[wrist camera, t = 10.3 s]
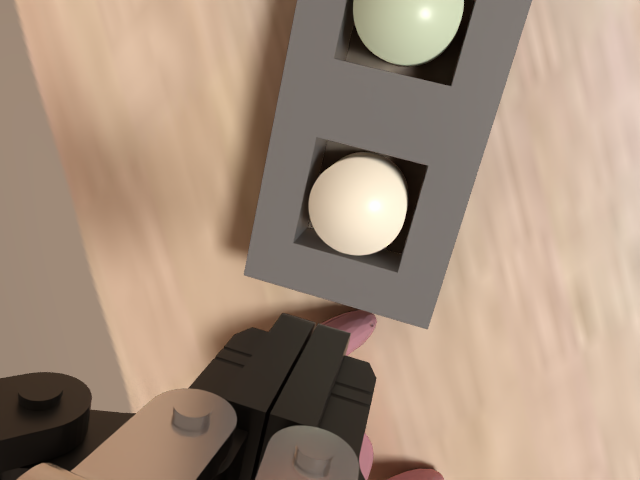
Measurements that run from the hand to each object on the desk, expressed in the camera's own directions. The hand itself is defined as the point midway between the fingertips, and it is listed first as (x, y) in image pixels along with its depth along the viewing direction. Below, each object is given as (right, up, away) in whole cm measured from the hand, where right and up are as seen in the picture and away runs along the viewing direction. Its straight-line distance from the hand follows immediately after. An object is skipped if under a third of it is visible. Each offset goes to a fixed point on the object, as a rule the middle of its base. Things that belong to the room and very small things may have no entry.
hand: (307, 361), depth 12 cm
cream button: (+2, +4, +11) cm, 12 cm away
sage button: (+4, +11, +9) cm, 14 cm away
